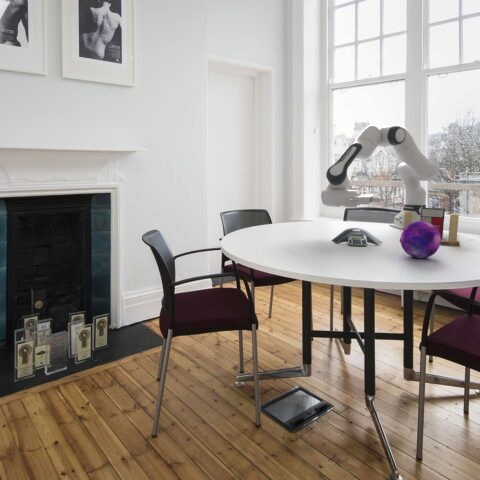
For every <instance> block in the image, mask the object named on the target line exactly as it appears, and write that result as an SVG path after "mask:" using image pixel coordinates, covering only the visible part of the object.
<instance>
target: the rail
mask: <svg viewBox="0 0 480 480" xmlns="http://www.w3.org/2000/svg"><path fill="white" fill-rule="evenodd" d="M400 239H401V237H400V238H399V243H401V241H400ZM440 246H451V247H460V240H458V243H454V242H446V240H441V244H440Z"/></svg>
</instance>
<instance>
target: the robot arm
mask: <svg viewBox="0 0 480 480" xmlns="http://www.w3.org/2000/svg"><path fill="white" fill-rule="evenodd" d="M377 147H383V148H384V147H393V149H394V151H395V153H396V156H398V157H397V158H399V160H400V161H401V162H402V163H400V164H399V165H398V166H397V169H396V174H397V176H398V178H399V179H400V180H401V181H402V183H403V186H404V188H405V198H404V199H405V200H404V201H405V202H404V204H402V205H401V207H402V210H401V211H400V212H399V213H397V214H396V215H395V216H394V219H393V223H390V224H389V227H393V228H396V229H400V230H404V216H405V211H409V212H413V219H412V223H413V222H416V221H420V220H421V209H422V208H427V204H426V203H427V202H426V201H427V200H426V199H427V190H426V189H425V188H424V187H422V185H421V183H420V181H421V182H428V181H433V180H436V178H437V177H438V176H439V173H440V168H439V164H438V163H436V162H434V161H432V160H430V159H429V158H427V156H425V155H424V154H423V153H422V152H421V150H420V149H419V147H418V145H417V143H416V141H415V140H414V137H413V136H412V133H410V131H409V129H407V128H406V127H405V126H403V125H397V124H396V125H395V124H394V125H387V124H386V125H383V126H381V125H380V126H377V125H375V124H371V125H370V124H369V125H367V126H366V127H365V128H364V129H363V130H362V131H361V132H360V134H359V135H358V136H357V138H356V139H355V141H354V142H353V143H352V144H351V145H349V146H348V148H346V150H345V152H344V153H342V155H341V156H340V157H339V159H338V160H337V161H336V162H335V163H333V164H332V165H331V166H330V167H329V168H328V169H327V170H326V173H325V174H326V179H327V181H328V182H329V183H328V185H327V187H326V188H324V190H323V189H322V191H321V201H322V203H323V205H325V206H326V207H327V206H328V207H335V208H337V207H344V208H353V209H355V208H358V206H361V205H370V204H371V203H376V202H378V203H381V202H382V201H383V198H382V197H378V196H377V197H376V195H375V194H373V193H365V192H360V191H358V190H357V189H350V185H351V184H350V181H349V177H348V169H349V167H350V166H351V165H352V163H353V162H354V161H356V159H358V160H367V159H369V158H370V156H372V154H373V153H374V151H375V150H376V148H377Z"/></svg>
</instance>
